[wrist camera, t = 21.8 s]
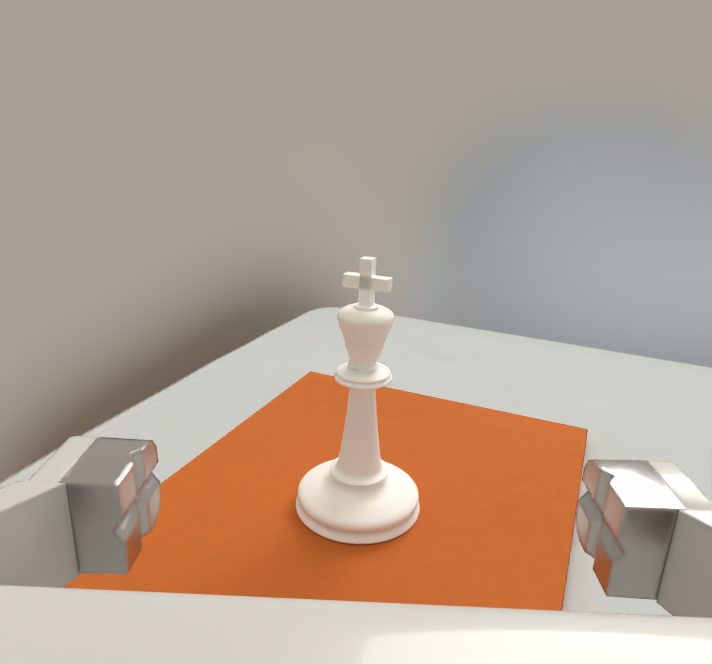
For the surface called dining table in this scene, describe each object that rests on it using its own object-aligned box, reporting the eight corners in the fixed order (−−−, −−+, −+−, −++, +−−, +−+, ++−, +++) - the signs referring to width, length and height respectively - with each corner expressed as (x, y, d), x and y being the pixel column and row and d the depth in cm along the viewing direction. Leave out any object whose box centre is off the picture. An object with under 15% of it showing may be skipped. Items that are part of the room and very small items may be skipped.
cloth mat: (310, 380, 37) (310, 371, 37) (586, 439, 31) (588, 428, 31) (-38, 649, 18) (-41, 633, 17) (514, 938, 12) (517, 919, 12)
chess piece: (396, 560, 21) (416, 282, 18) (272, 523, 23) (269, 263, 19) (433, 487, 25) (455, 253, 22) (327, 460, 27) (332, 239, 24)
